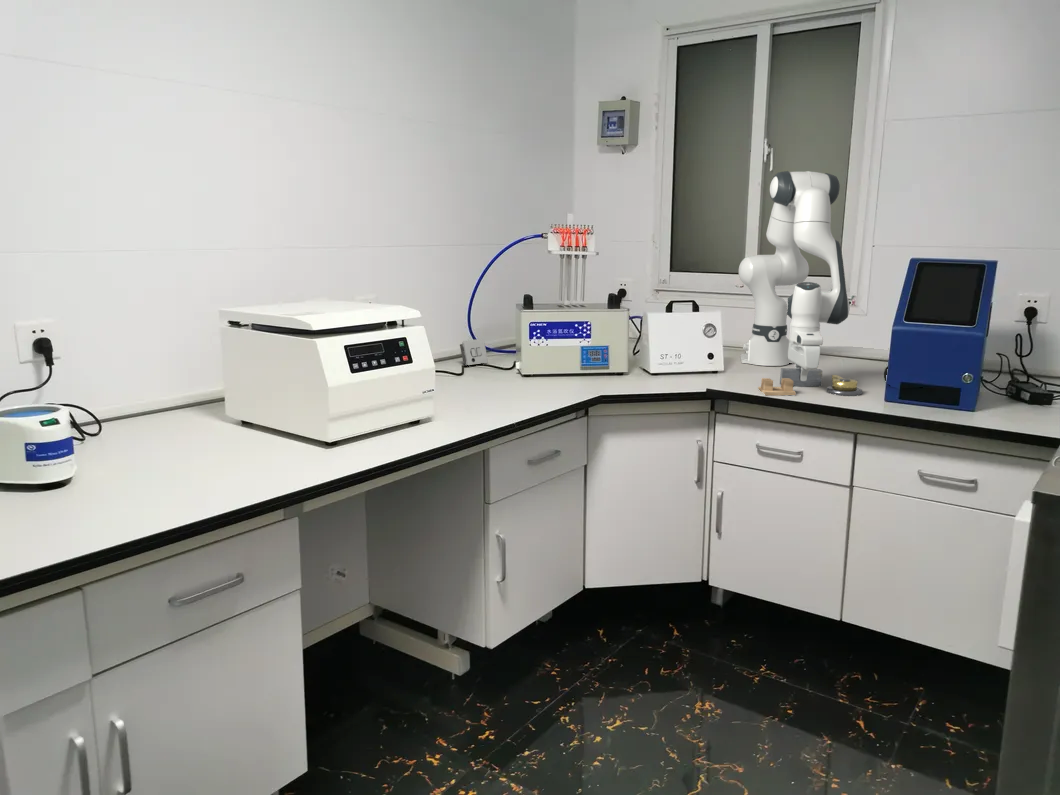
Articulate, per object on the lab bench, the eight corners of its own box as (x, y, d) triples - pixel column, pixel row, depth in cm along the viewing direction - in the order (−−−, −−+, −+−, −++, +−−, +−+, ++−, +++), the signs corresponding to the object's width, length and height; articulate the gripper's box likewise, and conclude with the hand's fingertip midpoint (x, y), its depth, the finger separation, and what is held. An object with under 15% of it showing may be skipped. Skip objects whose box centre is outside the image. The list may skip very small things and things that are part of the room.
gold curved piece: (822, 382, 248) (823, 374, 247) (845, 382, 247) (846, 374, 247) (836, 390, 236) (837, 381, 235) (860, 391, 235) (861, 382, 235)
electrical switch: (468, 367, 281) (466, 341, 279) (459, 366, 285) (457, 340, 283) (488, 364, 287) (486, 338, 286) (479, 363, 291) (478, 338, 289)
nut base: (821, 388, 244) (822, 385, 244) (854, 389, 244) (854, 385, 244) (832, 395, 234) (833, 392, 234) (867, 396, 234) (867, 392, 234)
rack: (758, 389, 243) (759, 376, 242) (787, 389, 243) (788, 377, 242) (764, 395, 235) (765, 382, 234) (795, 395, 235) (796, 382, 234)
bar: (779, 383, 251) (780, 368, 250) (818, 384, 250) (820, 369, 249) (781, 385, 248) (782, 369, 247) (821, 386, 247) (822, 370, 246)
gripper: (784, 330, 256) (781, 372, 259) (803, 340, 236) (800, 385, 239) (804, 330, 256) (800, 372, 259) (825, 340, 236) (821, 385, 239)
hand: (800, 379), depth 249 cm, fingers closed on bar, 3 cm apart
